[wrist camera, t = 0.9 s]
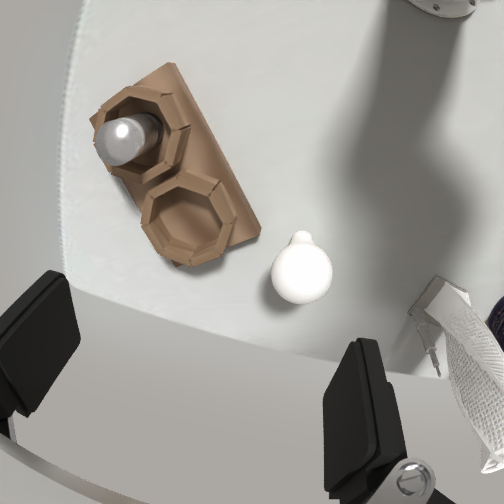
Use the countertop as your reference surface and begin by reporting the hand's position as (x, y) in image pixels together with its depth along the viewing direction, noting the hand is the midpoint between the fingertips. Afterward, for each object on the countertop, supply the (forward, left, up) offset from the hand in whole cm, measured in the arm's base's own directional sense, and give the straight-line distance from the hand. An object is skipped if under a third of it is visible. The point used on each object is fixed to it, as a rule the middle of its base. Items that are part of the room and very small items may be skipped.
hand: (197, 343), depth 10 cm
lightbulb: (+1, +11, -28) cm, 30 cm away
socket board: (+11, -3, -28) cm, 30 cm away
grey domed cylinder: (+11, -9, -26) cm, 30 cm away
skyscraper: (-15, +28, -28) cm, 42 cm away
